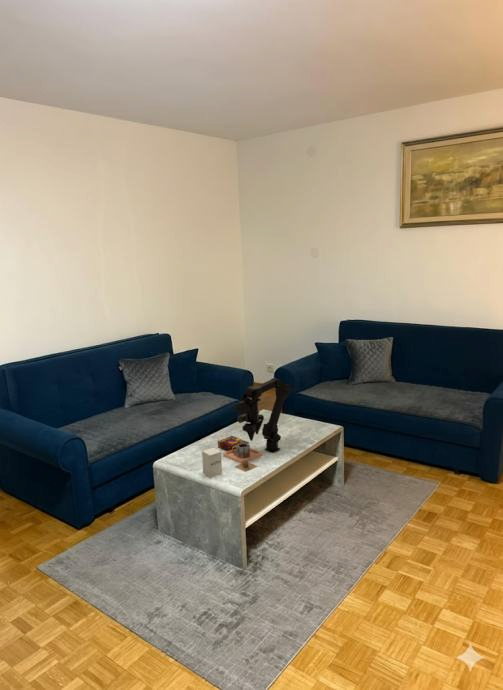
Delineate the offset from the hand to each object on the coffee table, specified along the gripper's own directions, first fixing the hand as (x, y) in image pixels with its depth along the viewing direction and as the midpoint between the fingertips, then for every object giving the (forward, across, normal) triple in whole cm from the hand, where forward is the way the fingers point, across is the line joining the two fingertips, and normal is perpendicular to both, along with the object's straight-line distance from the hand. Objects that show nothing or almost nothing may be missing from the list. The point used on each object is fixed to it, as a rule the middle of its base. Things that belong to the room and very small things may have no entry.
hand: (254, 437), depth 272 cm
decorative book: (+12, -9, -17) cm, 23 cm away
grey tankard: (+11, +1, -6) cm, 13 cm away
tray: (+12, +1, -7) cm, 14 cm away
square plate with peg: (+12, +13, 0) cm, 18 cm away
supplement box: (+12, +25, -14) cm, 31 cm away
